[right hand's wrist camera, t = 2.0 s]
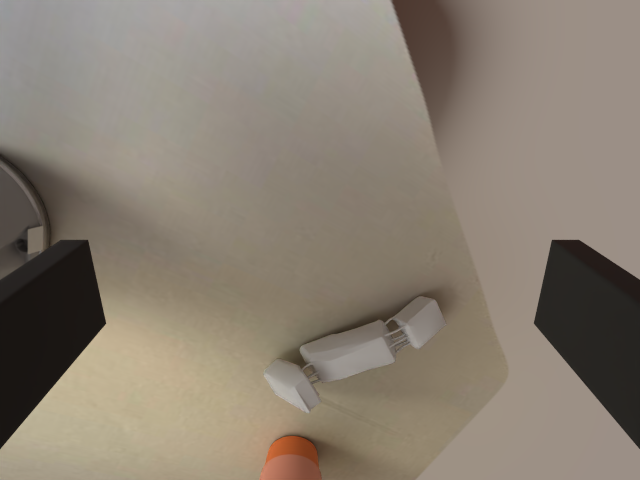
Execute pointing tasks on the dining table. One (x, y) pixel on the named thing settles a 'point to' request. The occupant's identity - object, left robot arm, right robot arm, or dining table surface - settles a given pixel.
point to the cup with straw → (291, 460)
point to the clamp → (353, 352)
